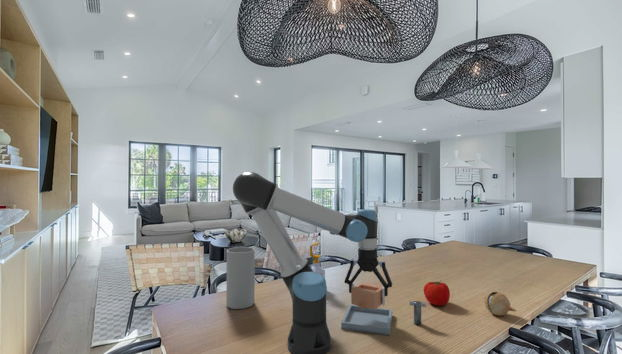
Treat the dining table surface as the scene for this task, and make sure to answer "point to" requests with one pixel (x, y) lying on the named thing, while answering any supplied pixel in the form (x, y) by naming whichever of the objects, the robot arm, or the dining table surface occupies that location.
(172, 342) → the dining table surface
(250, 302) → the cylinder vase
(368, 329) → the tray
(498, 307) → the onion
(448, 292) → the tomato
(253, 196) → the robot arm
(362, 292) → the ring frame
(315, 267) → the soap bottle
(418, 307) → the grey t-shaped piece
